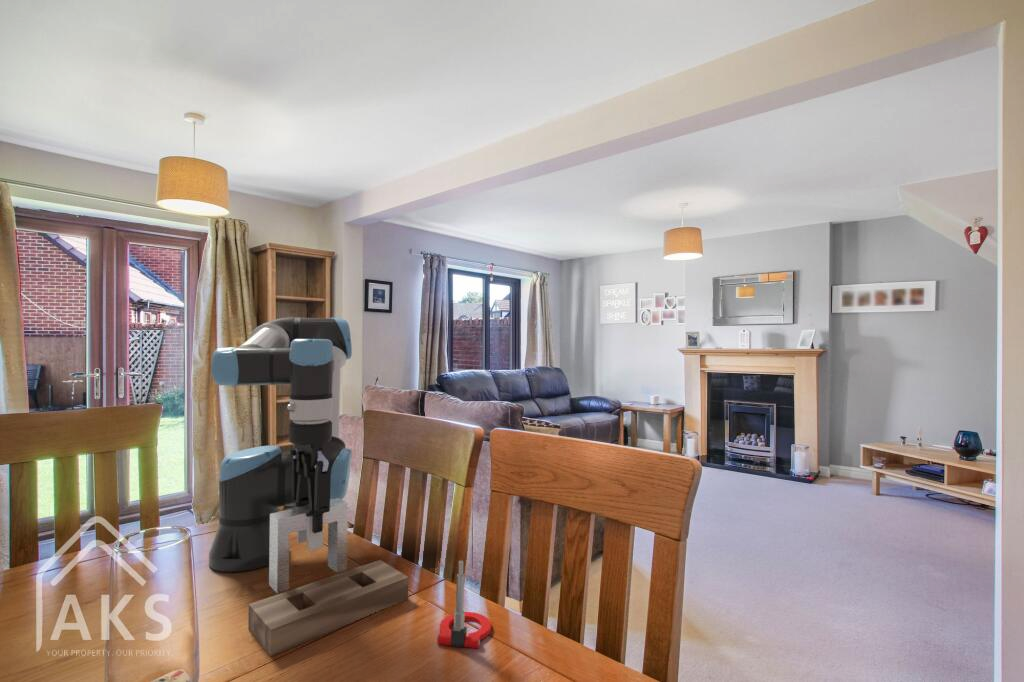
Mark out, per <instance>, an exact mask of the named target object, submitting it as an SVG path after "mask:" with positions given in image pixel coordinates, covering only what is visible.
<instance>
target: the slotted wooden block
mask: <svg viewBox="0 0 1024 682" xmlns="http://www.w3.org/2000/svg"><path fill="white" fill-rule="evenodd" d="M406 599H407V600H409V576H407V575H406V574H404V573H403V572H401V571H399V570H397V569H396V568H394V567H392V566H391V565H390V564H388V563H386V562H384V561H383V560H381V559H379V560H376V561H373V562H370V563H367V564H363V565H362V566H361V565H360V566H358V567H355V568H352V569H349V570H345V571H342V572H341V573H340V572H339V573H338V574H334V575H331V576H329V577H326V578H323V579H320V580H319V579H318V580H317V581H314V582H313V581H312V582H310V583H308V584H303V585H301V586H299V587H296V588H292V589H291V590H290V589H288V590H286V591H283V592H282V593H281V592H280V593H277V594H275V595H272V596H269V597H267V598H263V599H260V600H257V601H254V602H250V603H248V624H247V625H248V627H247V628H248V630H249V632H250V633H251V635H253V637H254V638H255V639H256V641H257V642H258V643H259V644H260V646H261V647H262V648H263V649H264V650H265V652H266V653H267V655H268V656H269V657H273V656H276V655H277V654H280V653H283V652H284V651H287V650H290V649H292V648H294V647H297V646H299V645H302V644H304V643H306V642H309V641H311V640H313V639H317V638H319V637H321V636H323V635H326V634H328V633H330V632H332V631H335V630H337V629H339V628H343V627H344V626H348V625H350V624H352V623H354V622H356V620H357V621H359V620H361V618H362V619H364V618H367V617H369V616H371V615H373V614H376V613H378V612H380V610H381V611H383V610H385V609H388V608H389V607H393V606H395V605H397V604H400V603H402V602H404V601H406ZM401 601H402V602H401ZM399 602H400V603H399ZM392 605H393V606H392ZM382 609H383V610H382ZM375 612H376V613H375ZM370 614H371V615H370Z"/></svg>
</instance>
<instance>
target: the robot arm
mask: <svg viewBox="0 0 1024 682" xmlns="http://www.w3.org/2000/svg"><path fill="white" fill-rule="evenodd" d="M351 336H352V335H351V329H350V326H349V323H348V321H347V320H346V319H344V318H336V317H330V318H326V317H295V316H294V317H293V316H288V317H282V318H281V317H280V318H277V319H274V320H269V321H266V322H263V323H262V324H261V325H260V324H259V325H258V326H257V327H256V328H254V329H253V330H252V331H251V333H250V335H249V337H248V339H247V340H246V341H244V342H243V343H242V344H241V345H240V346H238V347H233V346H229V347H218V348H216V349H214V352H213V353H212V355H211V356H212V357H211V364H210V365H211V366H210V369H211V370H210V371H211V372H210V373H211V377H212V381H213V382H214V384H215V385H218V386H231V387H236V386H239V387H240V386H243V387H244V386H282V385H283V386H289V404H287V406H286V409H287V410H288V411H289V420H291V422H290V423H289V425H288V440H289V443H291V444H293V446H292V449H290V451H288V452H287V451H286V452H282V449H281V447H280V446H279V445H275V444H274V445H263V446H262V445H261V446H256V447H255V446H254V447H250V448H246V449H242V450H238V451H235V452H233V453H230V454H228V455H227V456H225V457H224V458H223V459H222V461H221V462H220V465H219V477H218V483H219V484H218V485H219V489H218V490H219V491H218V493H219V495H218V496H219V497H218V498H219V499H218V504H219V505H218V506H219V507H218V516H219V517H218V518H219V519H218V528H217V530H216V532H215V536H214V539H213V541H212V543H211V547H210V550H209V553H208V566H209V568H211V569H212V570H215V571H217V572H223V573H237V572H246V571H252V570H257V569H261V568H264V567H267V566H269V546H270V514H271V513H275V512H280V507H291V506H295V508H297V507H301V506H306V505H309V510H310V512H309V513H306V516H307V529H305V530H301V531H297V532H296V543H297V544H301V543H305V542H306V551H308V552H310V551H311V552H312V551H314V550H318V549H321V548H323V547H324V525H323V513H326V512H329V511H330V500H332V499H336V498H339V499H341V500H344V498H345V497H346V495H347V492H348V486H349V483H350V482H349V481H350V480H349V479H350V474H351V464H352V450H351V448H347V447H346V443H345V441H344V440H343V439H342V438H340V405H341V403H340V400H341V399H340V398H341V397H340V396H341V395H340V394H341V393H340V391H341V369H342V368H343V367H344V366H345V364H346V362H347V360H350V359H351V358H352V355H353V353H352V351H353V348H352V338H351Z"/></svg>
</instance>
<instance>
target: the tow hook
mask: <svg viewBox="0 0 1024 682" xmlns="http://www.w3.org/2000/svg"><path fill="white" fill-rule="evenodd" d="M457 564H458V565H457V567H458V568H457V575H456V587H455V588H456V592H455V594H456V595H455V610H454V613H452V614H450V615H449V614H448V615H447V616H445V617H444V618H443V619H442V620H441V621H440V623H439V633H438V635H437V639H436V640H437V641H436V642H437V643H436V644H438V645H445V646H451V647H455V648H456V647H457V648H473V649H479V648H480V645H481V641H482V640H483V639H485V638H486V637H488V635H489V634H491V630H492V622H491V621H490V619H489V617H487V616H485V615H483V614H481V613H478V612H474V611H473V612H472V611H465V610H464V600H465V599H464V597H465V573H464V561H463V560H459V561H458V563H457ZM465 621H469V622H470V621H471V622H474V623H477V624H479V626H481V627H480V628H479V629H478V630H476V631H473V632H470V633H467V629H468V627H467V626H465ZM452 624H453V626H452V628H450V626H451V625H452Z"/></svg>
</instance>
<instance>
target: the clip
mask: <svg viewBox="0 0 1024 682" xmlns="http://www.w3.org/2000/svg"><path fill="white" fill-rule="evenodd" d="M348 507H349V505H348V502H346V501H344V499H342V500H341V499H339V498H336V499H332V500H330V511H329V512H326V513H323V526H324V525H327V567H329V569H331V570H332V571H334V572H335V573H338V574H339V573H340V572H341V573H342V572H345V571H348ZM309 512H310V510H309V504H308V505H306V506H301V507H294V508H289V509H285V510H284V509H283V510H279V512H275V513H271V514H270V546H269V565H268V567H269V568H268V570H269V571H268V585H269V587H271V589H272V590H273V591H274V592H275V593H276V594H280V593H281V592H282V593H283V592H286V591H289V590H290V535H291V534H293V533H297V531H301V530H305V529H307V516H306V513H309Z"/></svg>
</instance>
